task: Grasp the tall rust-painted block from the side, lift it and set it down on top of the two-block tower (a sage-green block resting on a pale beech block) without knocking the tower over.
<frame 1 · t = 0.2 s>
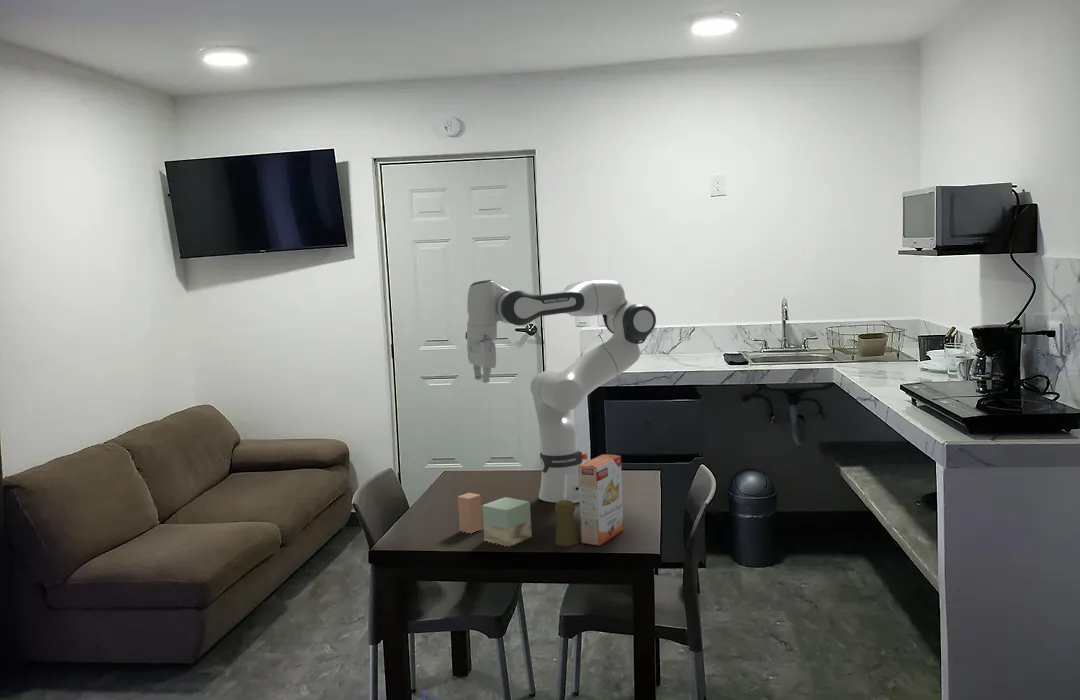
hand: (481, 381, 251), 39 cm above the table, tool pointing down, fingers open, 8 cm apart
beech block: (508, 540, 225), on the table, touching green block
cracker box: (603, 538, 222), on the table
green block: (507, 521, 225), point 5 cm above the table, touching beech block
rust block: (471, 530, 234), on the table
cork: (566, 543, 220), on the table
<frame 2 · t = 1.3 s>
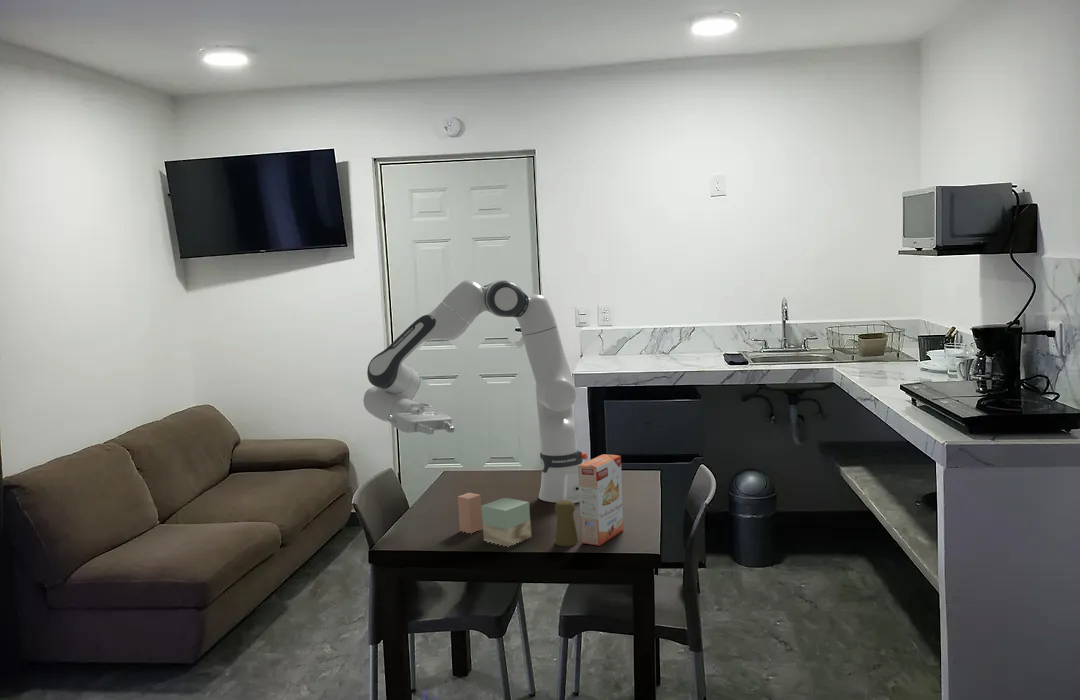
hand: (442, 431, 240), 27 cm above the table, tool tilted 75°, fingers open, 8 cm apart
nothing on the table moved.
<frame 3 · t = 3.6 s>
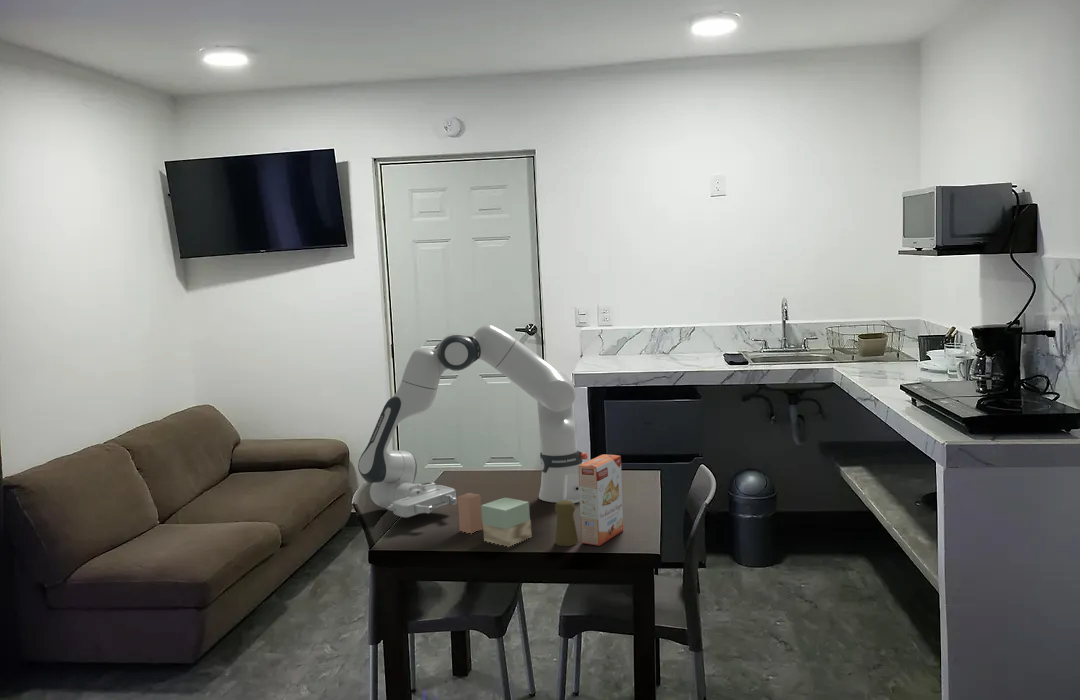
hand: (443, 505, 241), 5 cm above the table, tool horizontal, fingers open, 8 cm apart
nothing on the table moved.
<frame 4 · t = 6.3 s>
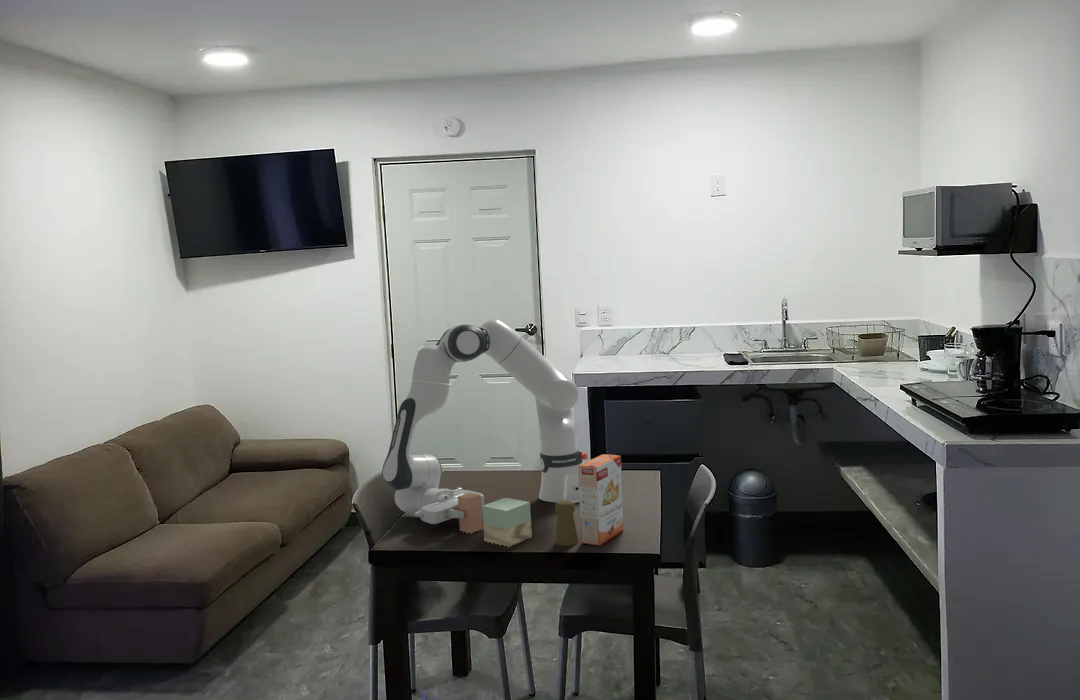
hand: (472, 511, 233), 6 cm above the table, tool horizontal, fingers closed on rust block, 4 cm apart
rust block: (471, 530, 234), on the table, touching gripper
everything else where it was.
when the fingers open (16 cm above the table, at t = 11.8 s): rust block stays where it is, resting on green block.
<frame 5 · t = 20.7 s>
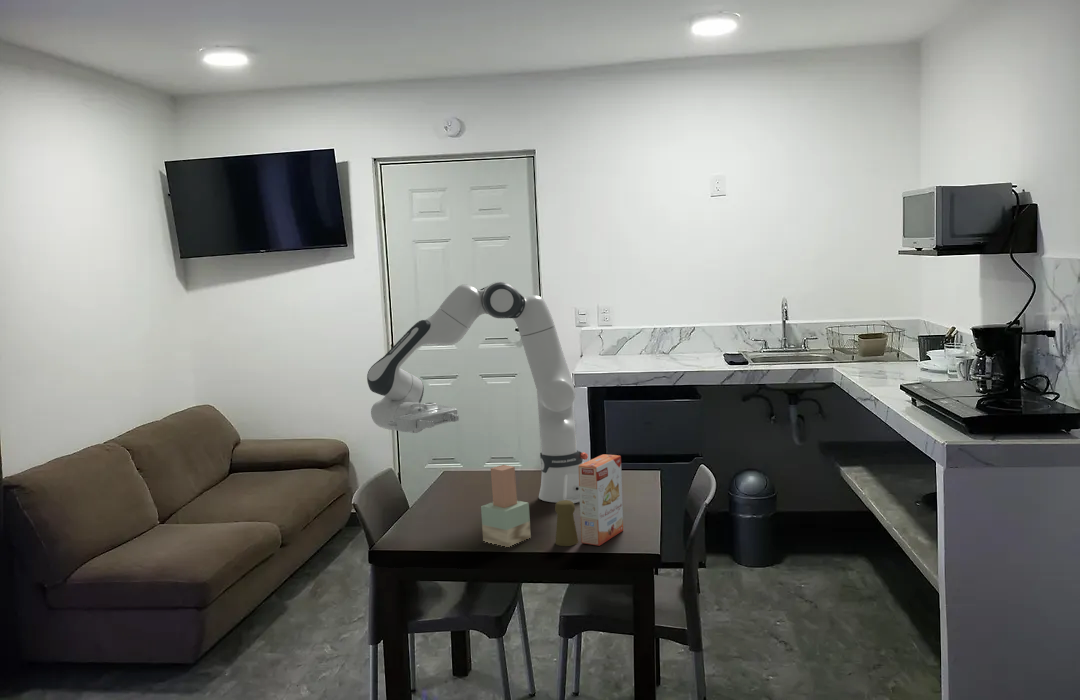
hand: (444, 421, 238), 30 cm above the table, tool horizontal, fingers open, 8 cm apart
green block: (506, 522, 224), point 5 cm above the table, touching beech block, rust block
rust block: (505, 504, 223), point 10 cm above the table, touching green block
everything else where it was.
at the end: rust block inside the target area on the green block (0.2 cm from its centre), point 5.0 cm above the green block's base; rust block tilted 1°; green block tilted 0° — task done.
